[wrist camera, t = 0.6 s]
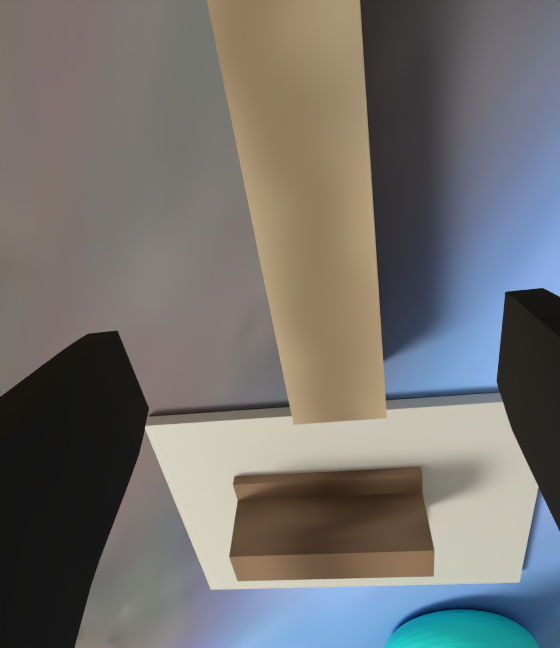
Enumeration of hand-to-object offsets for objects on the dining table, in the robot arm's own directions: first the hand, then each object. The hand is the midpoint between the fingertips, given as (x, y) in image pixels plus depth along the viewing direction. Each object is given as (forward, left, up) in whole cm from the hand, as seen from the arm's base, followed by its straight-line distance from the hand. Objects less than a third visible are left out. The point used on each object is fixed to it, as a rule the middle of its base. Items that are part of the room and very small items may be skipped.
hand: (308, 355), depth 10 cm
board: (0, +17, -9) cm, 19 cm away
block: (+1, +16, -9) cm, 18 cm away
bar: (0, 0, -10) cm, 10 cm away
